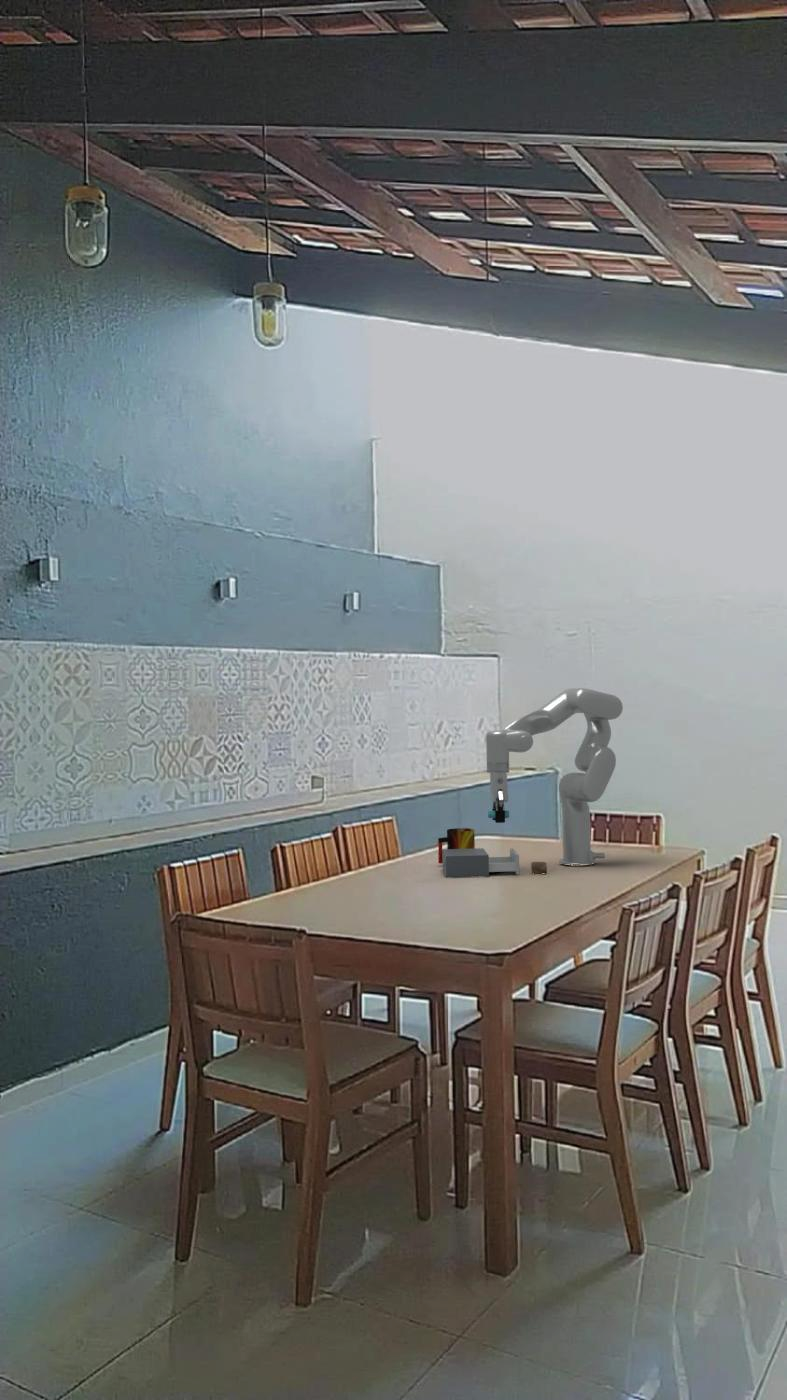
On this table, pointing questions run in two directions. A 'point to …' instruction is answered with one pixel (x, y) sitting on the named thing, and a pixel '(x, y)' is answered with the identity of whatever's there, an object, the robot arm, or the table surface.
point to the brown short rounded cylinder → (539, 867)
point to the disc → (492, 814)
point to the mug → (457, 840)
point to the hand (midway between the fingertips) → (498, 821)
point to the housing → (465, 862)
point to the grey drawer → (505, 863)
